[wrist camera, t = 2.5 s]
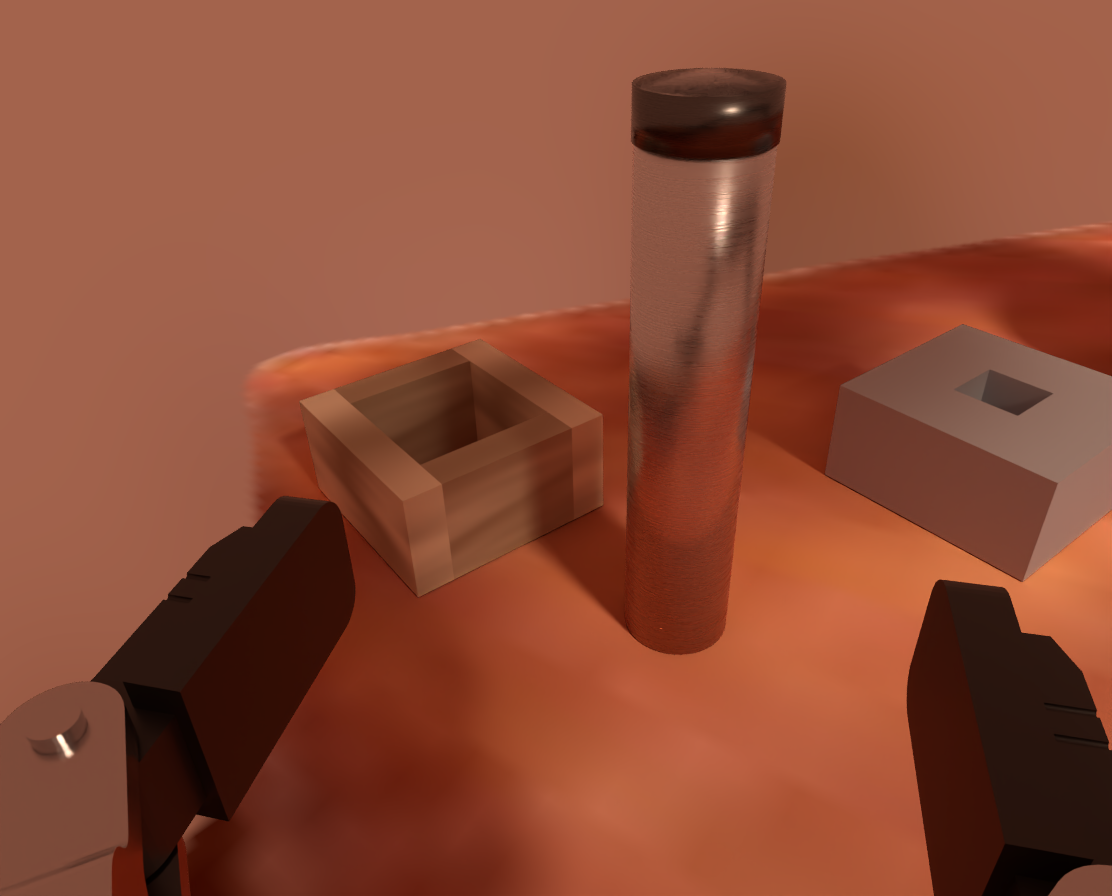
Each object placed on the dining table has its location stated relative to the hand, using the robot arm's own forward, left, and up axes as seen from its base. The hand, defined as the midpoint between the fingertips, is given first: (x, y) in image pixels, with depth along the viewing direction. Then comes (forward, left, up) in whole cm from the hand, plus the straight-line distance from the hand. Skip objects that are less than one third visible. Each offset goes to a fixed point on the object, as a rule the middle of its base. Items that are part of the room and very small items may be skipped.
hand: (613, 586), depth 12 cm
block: (+5, -23, -12) cm, 26 cm away
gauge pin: (+7, -9, -12) cm, 16 cm away
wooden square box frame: (+17, -7, -12) cm, 22 cm away
